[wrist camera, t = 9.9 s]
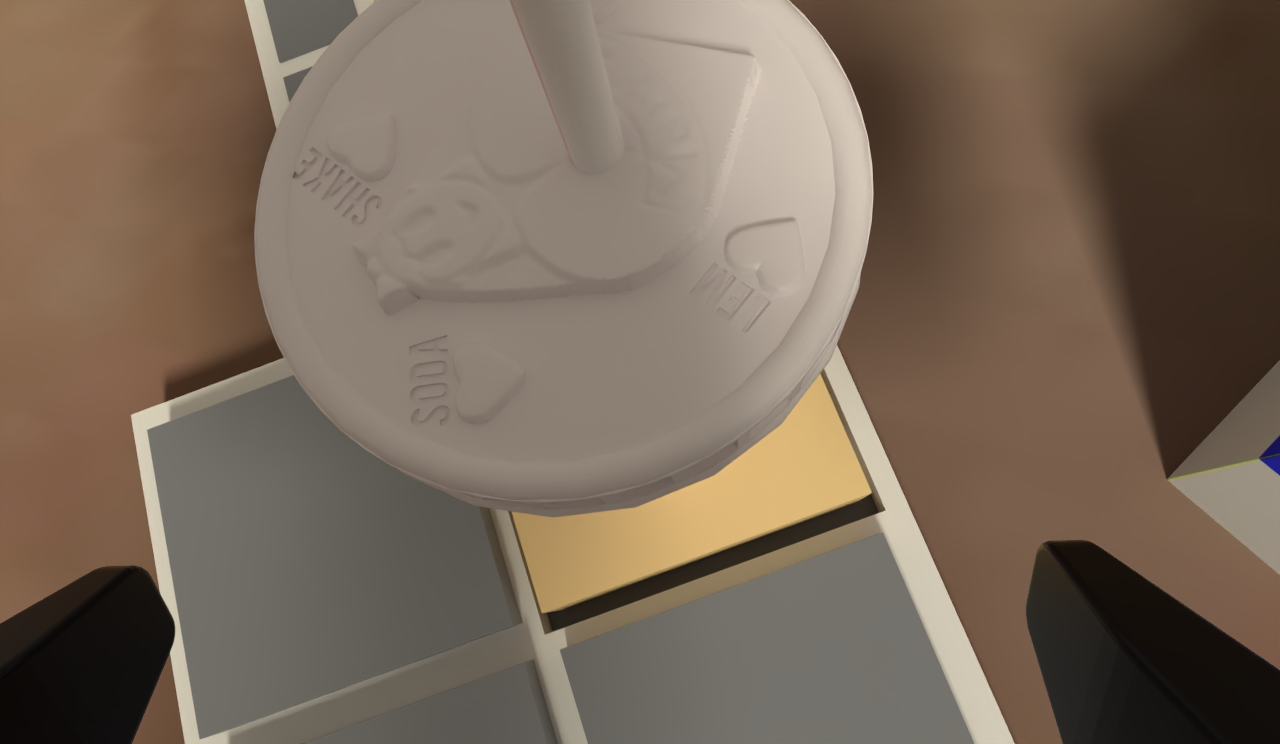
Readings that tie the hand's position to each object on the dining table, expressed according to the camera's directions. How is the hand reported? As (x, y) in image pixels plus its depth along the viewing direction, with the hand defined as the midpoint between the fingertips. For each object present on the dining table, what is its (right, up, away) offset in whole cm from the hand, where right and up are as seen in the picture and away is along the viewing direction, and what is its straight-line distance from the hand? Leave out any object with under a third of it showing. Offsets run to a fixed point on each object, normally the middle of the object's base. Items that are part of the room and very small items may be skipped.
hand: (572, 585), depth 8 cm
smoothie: (+1, +2, +9) cm, 9 cm away
